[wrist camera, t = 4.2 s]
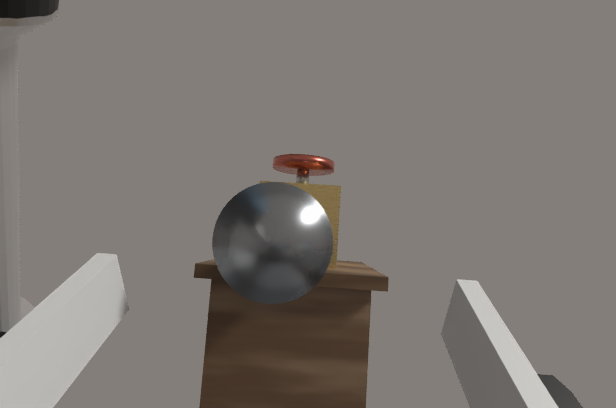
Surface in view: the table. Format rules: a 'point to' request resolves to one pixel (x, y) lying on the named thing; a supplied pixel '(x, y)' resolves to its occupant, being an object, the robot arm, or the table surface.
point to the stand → (290, 343)
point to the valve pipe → (279, 233)
